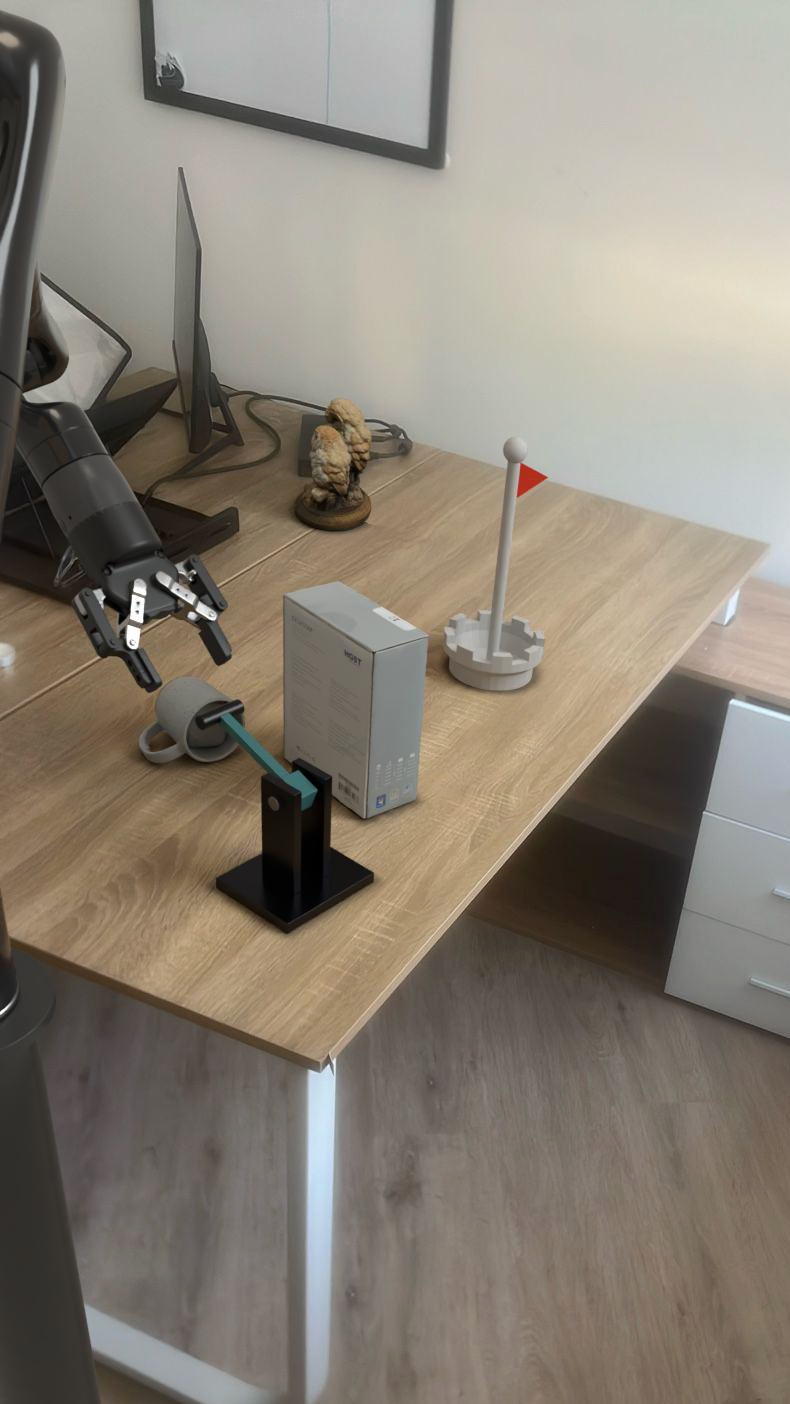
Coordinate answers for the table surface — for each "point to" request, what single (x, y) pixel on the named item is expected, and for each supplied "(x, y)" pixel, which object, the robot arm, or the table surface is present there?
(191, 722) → the ceramic mug
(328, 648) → the hard drive box
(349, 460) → the owl figurine
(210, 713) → the switch lever
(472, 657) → the flag stand
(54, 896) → the table surface
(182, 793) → the table surface
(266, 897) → the switch bracket
